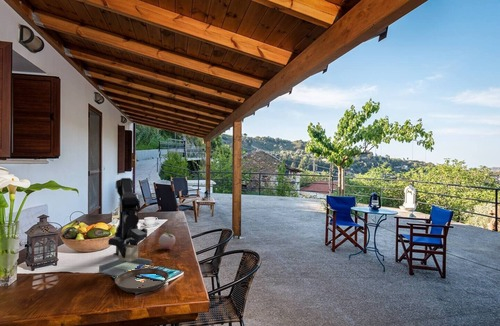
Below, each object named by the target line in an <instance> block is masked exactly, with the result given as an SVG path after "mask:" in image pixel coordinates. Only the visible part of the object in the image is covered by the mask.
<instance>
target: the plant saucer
mask: <svg viewBox="0 0 500 326" xmlns="http://www.w3.org/2000/svg"><path fill="white" fill-rule="evenodd" d="M140 274H156V275H160V276H162V277H164V278H165V281H163V282H161V281H153V280H150V279H146V281H144V283H142V282H140V281H136V280H135V279H137V278H136V277H135V276H137V275H140ZM169 278H170V274H169V272H167V271H166V270H163V269H160V268H153V267H149V268H142V269H135V270H131V271H127V272H125V273H122V274H121V275H119V276H118V277H117V276H116V278H115V280H114V282H115V284H116V285H117V287H118V288H119V289H121V290H122V291H124V292H127V293H133V294H134V293H135V294H136V293H137V294H139V293H140V294H141V293H142V294H143V293H149V292H151V291H155V290H158V289H160V288H161V287H162V286H163V285H165V283H166V282H167V281H168V279H169ZM142 285H144V286H142ZM137 287H141V288H137Z"/></svg>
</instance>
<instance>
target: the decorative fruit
mask: <svg viewBox="0 0 500 326" xmlns="http://www.w3.org/2000/svg"><path fill="white" fill-rule="evenodd" d="M158 243H159V245H160V246H161V247H162V248H164V249H166V250H169V249H170V248H172V247H173V246H174V245H175V243H176V236H175V235H173V234H172V233H168V231H166V232H162V233H161V234H160V237H159V238H158Z"/></svg>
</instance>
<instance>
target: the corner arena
mask: <svg viewBox="0 0 500 326" xmlns="http://www.w3.org/2000/svg"><path fill="white" fill-rule="evenodd" d="M141 264H146V265H152V266H153V259H148V258H143V257H138V259H136V260H133V261H131V262H129V261H124V260H119V258H117V259H115V260H112V261H109V262H106V263H103V264H100V265H99V266H98V267H99V268H98V273H99V274H105V275H109V276H113V277H117V276H119V275H121V274H122V273H125V272H124V271H128V270H132V269H135V268H137V266H139V265H141Z"/></svg>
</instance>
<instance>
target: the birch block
mask: <svg viewBox="0 0 500 326" xmlns="http://www.w3.org/2000/svg"><path fill="white" fill-rule="evenodd" d="M138 258H139V245H137V246H135V245H130V243H129V244H128V245H127V246H126V254H125V258H123V257H122V255H121V253H120V251H119V255H118V259H119V260H124V261H129V262H131V261H133V260H136V259H138Z"/></svg>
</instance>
